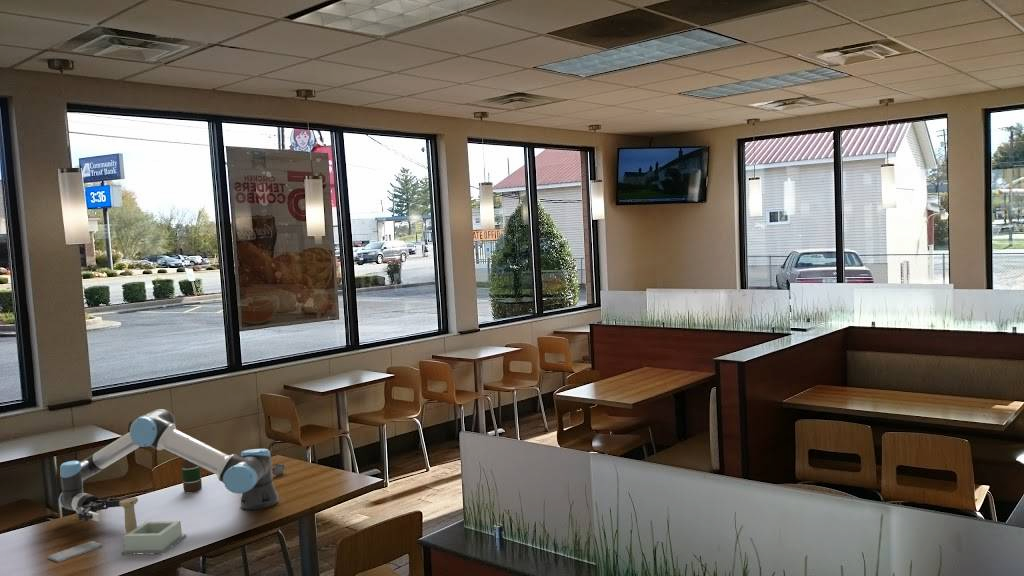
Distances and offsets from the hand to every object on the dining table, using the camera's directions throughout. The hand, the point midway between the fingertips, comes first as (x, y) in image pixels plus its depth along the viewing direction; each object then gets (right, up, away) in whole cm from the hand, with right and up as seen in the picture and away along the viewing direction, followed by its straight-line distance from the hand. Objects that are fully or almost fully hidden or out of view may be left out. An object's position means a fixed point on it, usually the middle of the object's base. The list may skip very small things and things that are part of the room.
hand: (115, 511), depth 310 cm
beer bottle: (+9, -5, +51) cm, 52 cm away
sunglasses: (+36, -2, +69) cm, 78 cm away
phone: (-7, -11, -15) cm, 20 cm away
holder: (+21, -9, -13) cm, 26 cm away
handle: (+9, -9, -5) cm, 13 cm away
